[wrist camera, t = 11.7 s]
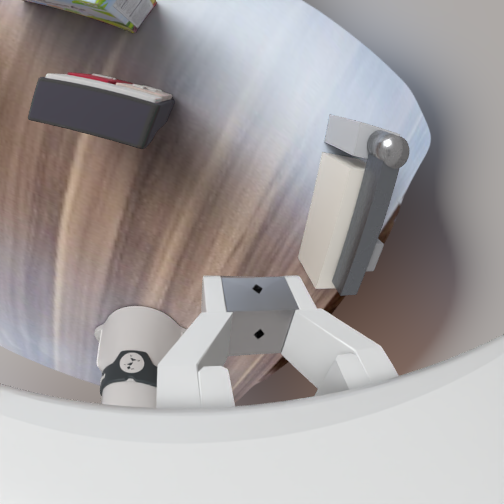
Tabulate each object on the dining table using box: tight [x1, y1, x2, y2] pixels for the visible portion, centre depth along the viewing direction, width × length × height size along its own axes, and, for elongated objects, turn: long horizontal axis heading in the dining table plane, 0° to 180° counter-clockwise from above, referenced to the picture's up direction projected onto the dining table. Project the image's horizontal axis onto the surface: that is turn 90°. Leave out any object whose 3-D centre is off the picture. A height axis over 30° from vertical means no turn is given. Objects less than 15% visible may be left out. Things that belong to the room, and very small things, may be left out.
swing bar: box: [332, 130, 409, 295], centre depth 32 cm, size 21×4×3 cm, turn 172°
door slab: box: [298, 152, 384, 289], centre depth 37 cm, size 17×6×11 cm, turn 172°
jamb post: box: [324, 114, 400, 159], centre depth 32 cm, size 4×6×8 cm, turn 82°
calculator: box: [28, 72, 175, 149], centre depth 22 cm, size 11×4×15 cm, turn 65°
